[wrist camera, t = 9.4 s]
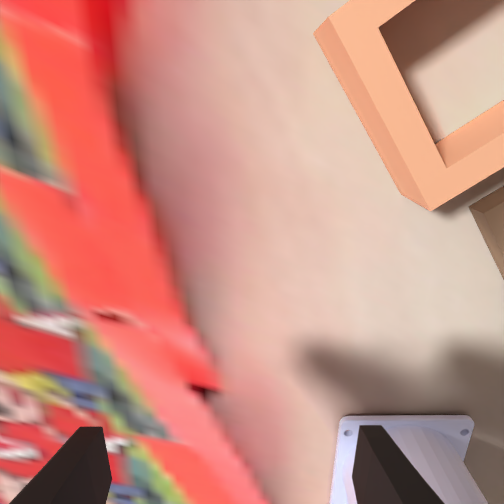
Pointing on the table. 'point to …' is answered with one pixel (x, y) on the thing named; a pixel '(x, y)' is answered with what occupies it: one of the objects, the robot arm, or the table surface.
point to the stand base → (492, 224)
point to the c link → (405, 110)
